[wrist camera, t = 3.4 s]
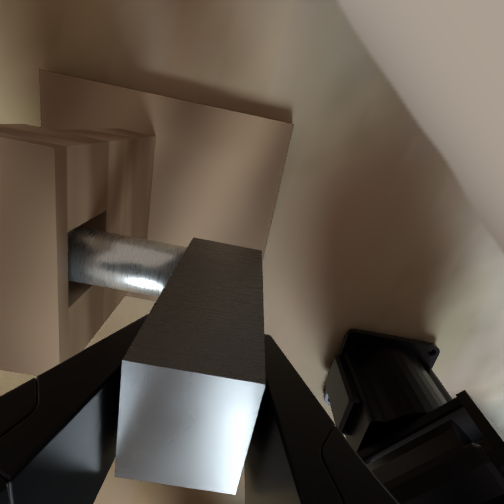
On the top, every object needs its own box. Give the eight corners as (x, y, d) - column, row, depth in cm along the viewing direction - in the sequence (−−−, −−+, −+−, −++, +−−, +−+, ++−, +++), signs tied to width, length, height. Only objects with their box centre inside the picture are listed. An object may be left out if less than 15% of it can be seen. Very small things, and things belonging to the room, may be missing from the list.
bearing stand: (292, 124, 18) (330, 123, 8) (249, 311, 22) (243, 449, 13) (48, 71, 17) (-209, 6, 8) (54, 276, 21) (-105, 394, 12)
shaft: (261, 241, 13) (265, 384, 6) (247, 306, 14) (235, 494, 7) (-6, 189, 12) (-364, 277, 5) (1, 262, 13) (-288, 415, 6)
